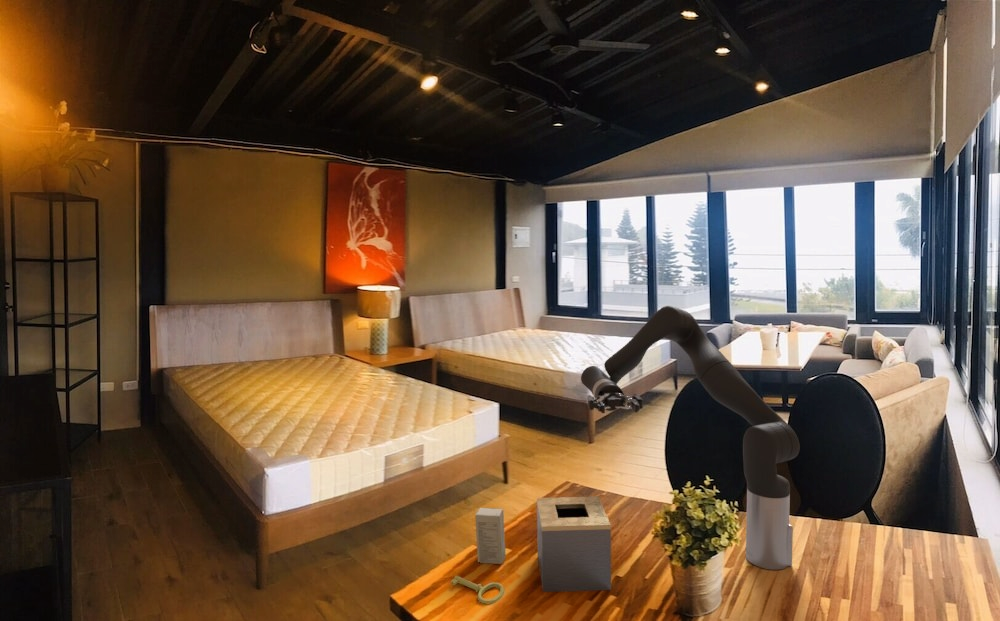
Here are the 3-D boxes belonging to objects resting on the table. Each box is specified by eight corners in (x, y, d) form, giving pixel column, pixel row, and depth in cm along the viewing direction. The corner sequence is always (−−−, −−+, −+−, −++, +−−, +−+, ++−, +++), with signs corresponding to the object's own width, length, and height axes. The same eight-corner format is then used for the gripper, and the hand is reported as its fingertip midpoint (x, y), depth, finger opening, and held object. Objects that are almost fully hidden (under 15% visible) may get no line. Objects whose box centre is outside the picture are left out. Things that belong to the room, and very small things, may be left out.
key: (454, 582, 133) (453, 574, 133) (506, 588, 130) (506, 579, 130) (444, 601, 126) (443, 591, 126) (499, 608, 123) (499, 598, 123)
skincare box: (505, 556, 144) (504, 508, 142) (501, 565, 139) (500, 516, 138) (480, 553, 145) (479, 506, 144) (476, 562, 141) (474, 514, 140)
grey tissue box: (598, 555, 143) (598, 496, 142) (610, 590, 128) (610, 524, 127) (537, 556, 143) (536, 498, 141) (543, 591, 128) (542, 526, 126)
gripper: (582, 381, 165) (592, 395, 149) (632, 380, 165) (647, 394, 149) (582, 407, 166) (592, 424, 150) (632, 406, 166) (647, 422, 150)
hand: (620, 409), depth 149 cm, fingers open, 8 cm apart
